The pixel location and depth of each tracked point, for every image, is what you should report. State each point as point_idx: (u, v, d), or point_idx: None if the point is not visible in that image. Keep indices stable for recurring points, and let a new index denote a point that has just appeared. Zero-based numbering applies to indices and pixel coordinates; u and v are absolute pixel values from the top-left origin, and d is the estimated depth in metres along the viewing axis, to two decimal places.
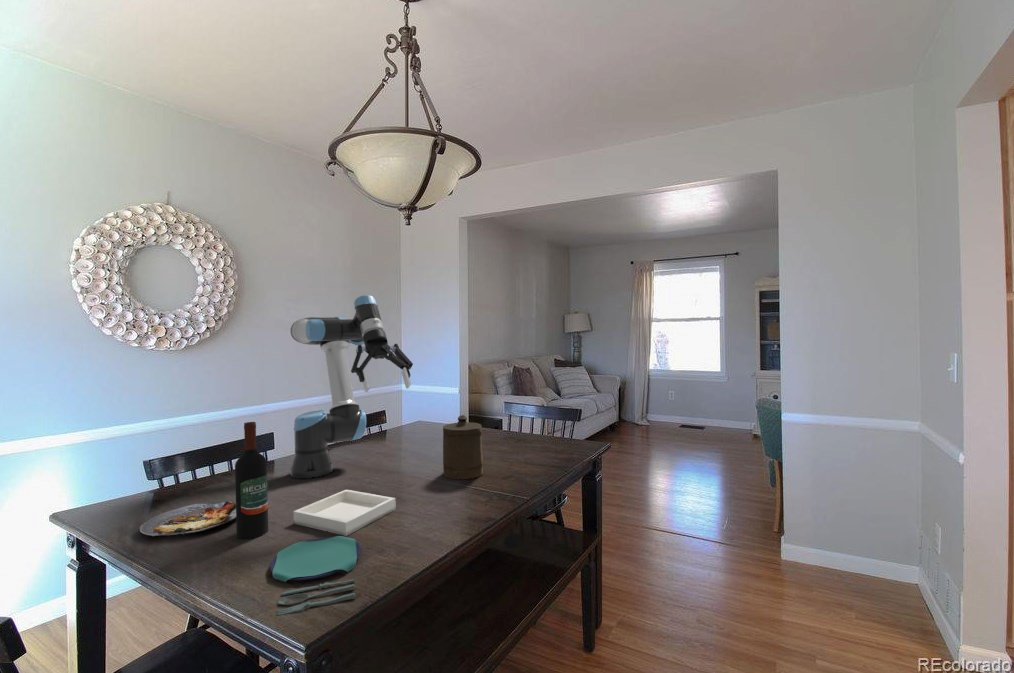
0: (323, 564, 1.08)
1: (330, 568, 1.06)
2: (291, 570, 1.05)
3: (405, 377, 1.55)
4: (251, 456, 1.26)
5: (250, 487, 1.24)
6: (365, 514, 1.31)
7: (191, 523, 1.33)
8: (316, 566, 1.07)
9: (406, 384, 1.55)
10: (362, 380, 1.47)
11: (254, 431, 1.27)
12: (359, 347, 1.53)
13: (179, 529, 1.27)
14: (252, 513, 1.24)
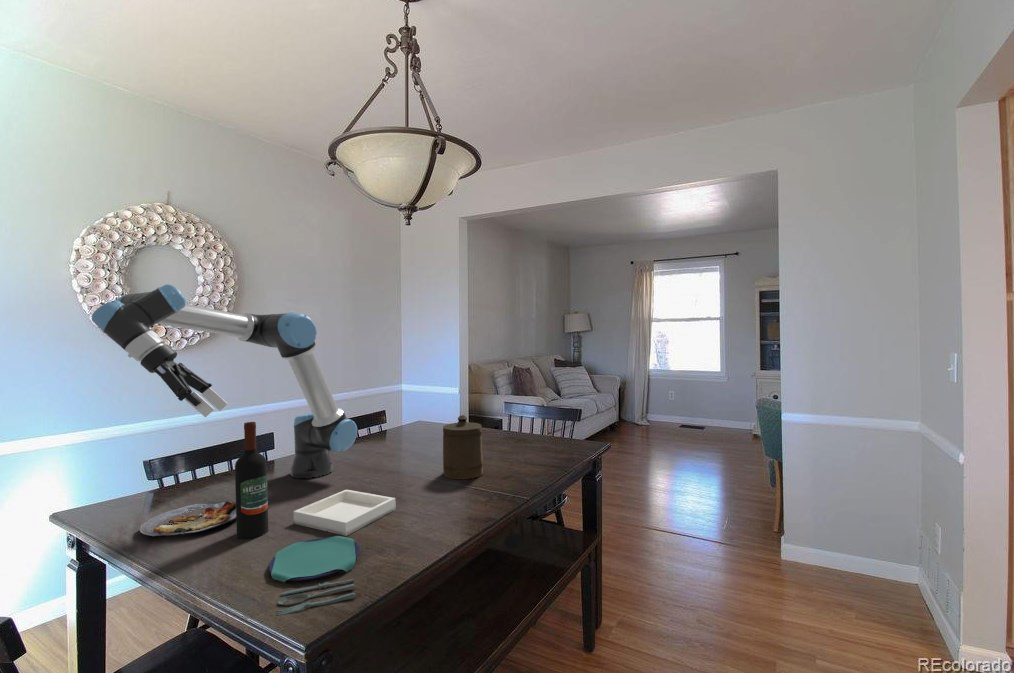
0: (322, 564, 1.08)
1: (329, 568, 1.06)
2: (290, 570, 1.05)
3: None
4: (251, 456, 1.26)
5: (250, 487, 1.24)
6: (365, 514, 1.31)
7: (191, 523, 1.33)
8: (315, 566, 1.07)
9: None
10: None
11: (254, 431, 1.27)
12: None
13: (179, 529, 1.27)
14: (252, 513, 1.24)
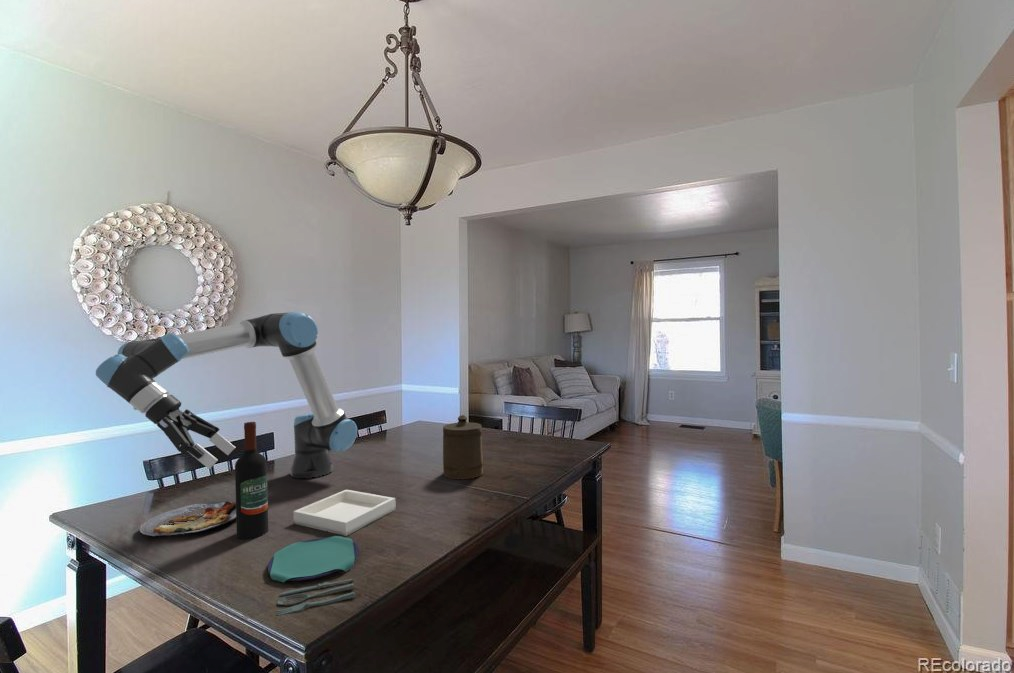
0: (321, 564, 1.08)
1: (328, 568, 1.06)
2: (289, 571, 1.05)
3: None
4: (251, 456, 1.26)
5: (250, 487, 1.24)
6: (365, 514, 1.31)
7: (191, 523, 1.33)
8: (314, 566, 1.07)
9: None
10: None
11: (254, 431, 1.27)
12: None
13: (179, 529, 1.27)
14: (252, 513, 1.24)
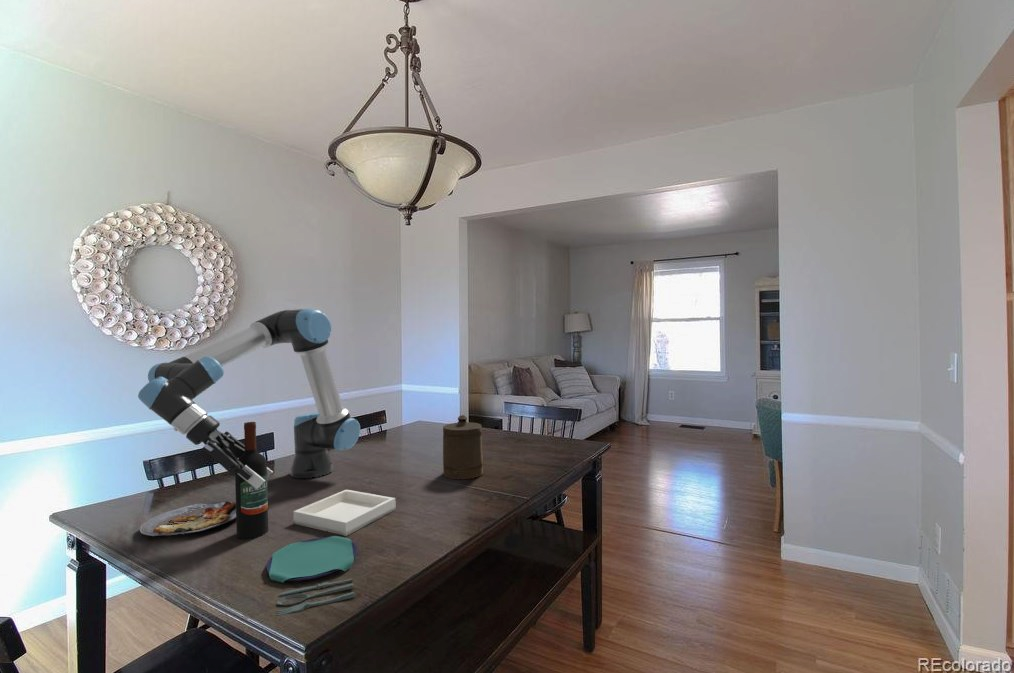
0: (320, 564, 1.08)
1: (327, 568, 1.06)
2: (288, 571, 1.05)
3: None
4: (251, 456, 1.26)
5: (250, 487, 1.24)
6: (365, 514, 1.31)
7: (191, 523, 1.33)
8: (313, 566, 1.07)
9: None
10: None
11: (254, 431, 1.27)
12: None
13: (179, 529, 1.27)
14: (252, 513, 1.24)
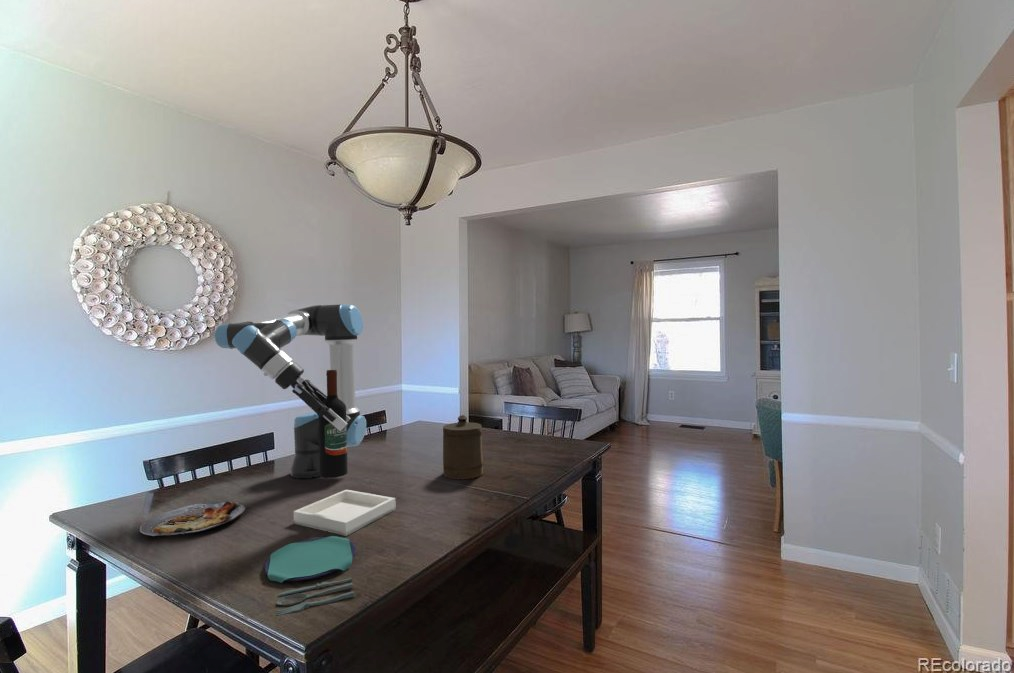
0: (318, 564, 1.08)
1: (326, 568, 1.06)
2: (286, 571, 1.05)
3: None
4: (334, 401, 1.34)
5: (333, 429, 1.32)
6: (365, 514, 1.31)
7: (191, 523, 1.33)
8: (311, 566, 1.07)
9: None
10: None
11: (336, 378, 1.35)
12: None
13: (179, 529, 1.27)
14: (335, 454, 1.32)
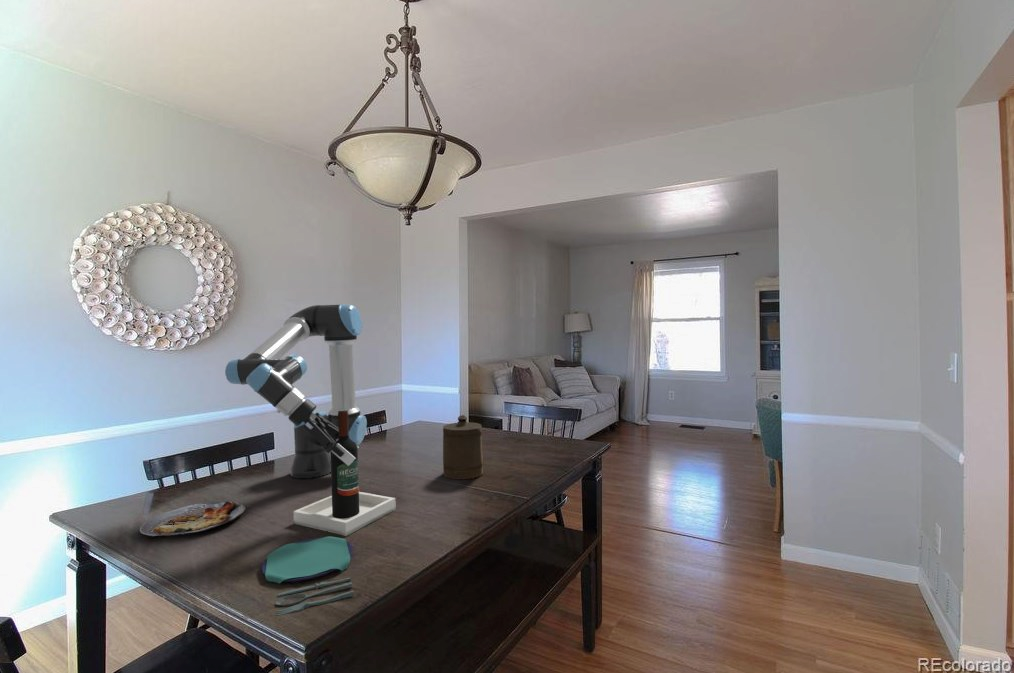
0: (316, 564, 1.08)
1: (324, 568, 1.06)
2: (284, 572, 1.05)
3: None
4: (345, 442, 1.36)
5: (345, 470, 1.35)
6: (365, 514, 1.31)
7: (191, 523, 1.33)
8: (309, 567, 1.07)
9: None
10: None
11: (347, 419, 1.38)
12: None
13: (179, 529, 1.27)
14: (347, 494, 1.35)
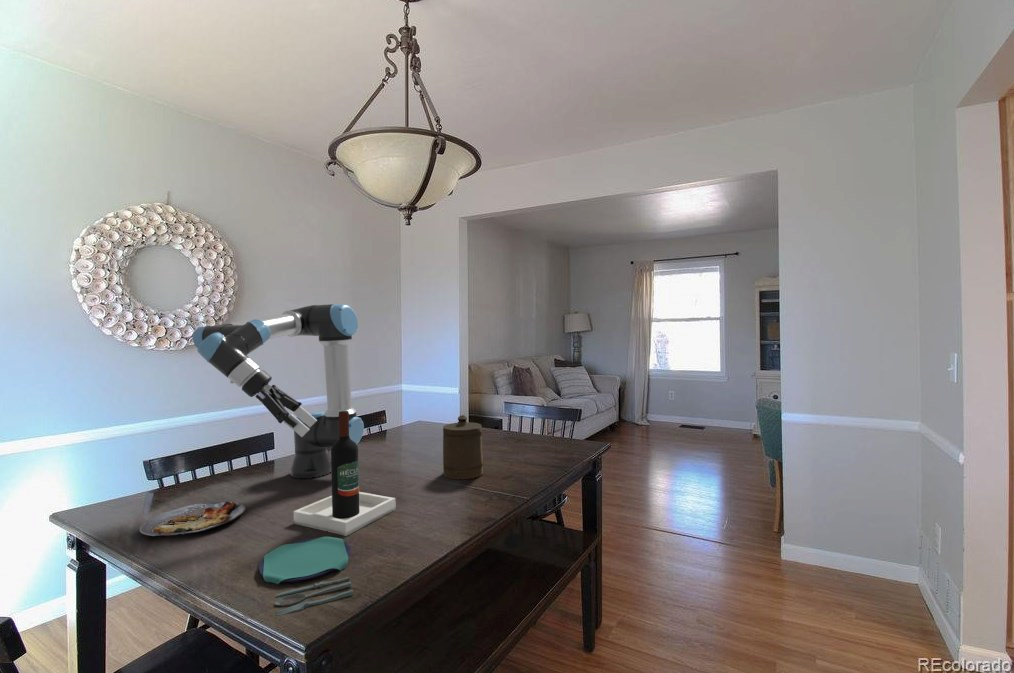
0: (314, 564, 1.08)
1: (322, 568, 1.06)
2: (282, 572, 1.05)
3: None
4: (346, 442, 1.36)
5: (346, 471, 1.34)
6: (365, 514, 1.31)
7: (191, 523, 1.33)
8: (307, 567, 1.07)
9: None
10: None
11: (348, 419, 1.38)
12: None
13: (179, 529, 1.27)
14: (348, 495, 1.35)
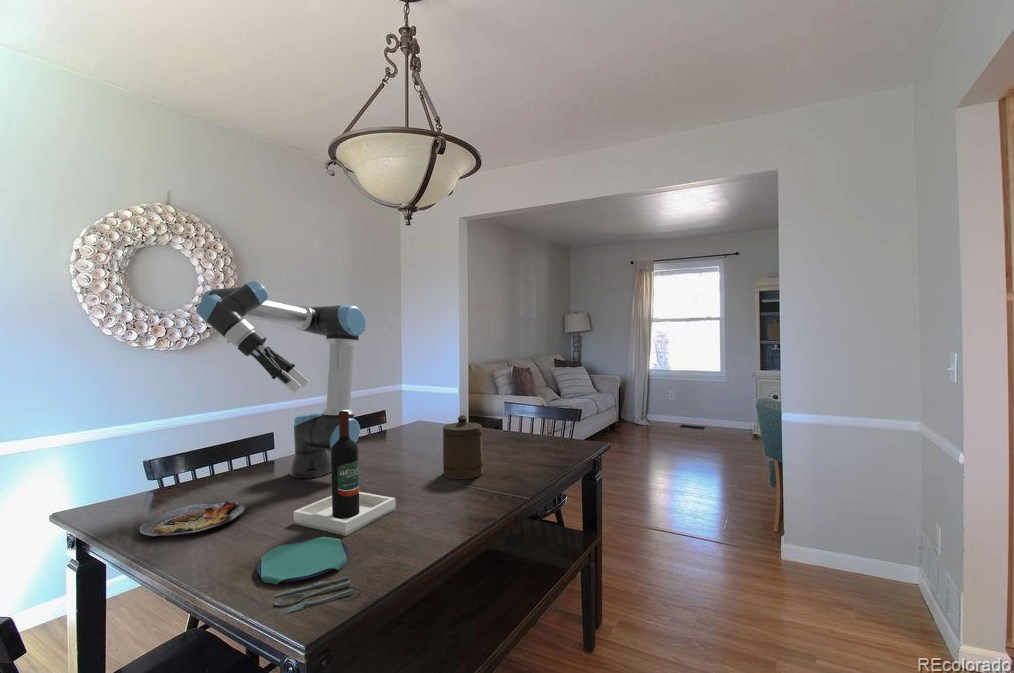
0: (312, 564, 1.08)
1: (320, 568, 1.06)
2: (280, 572, 1.04)
3: None
4: (346, 442, 1.36)
5: (346, 471, 1.34)
6: (365, 514, 1.31)
7: (191, 523, 1.33)
8: (305, 567, 1.07)
9: None
10: None
11: (348, 419, 1.38)
12: None
13: (179, 529, 1.27)
14: (348, 495, 1.35)
